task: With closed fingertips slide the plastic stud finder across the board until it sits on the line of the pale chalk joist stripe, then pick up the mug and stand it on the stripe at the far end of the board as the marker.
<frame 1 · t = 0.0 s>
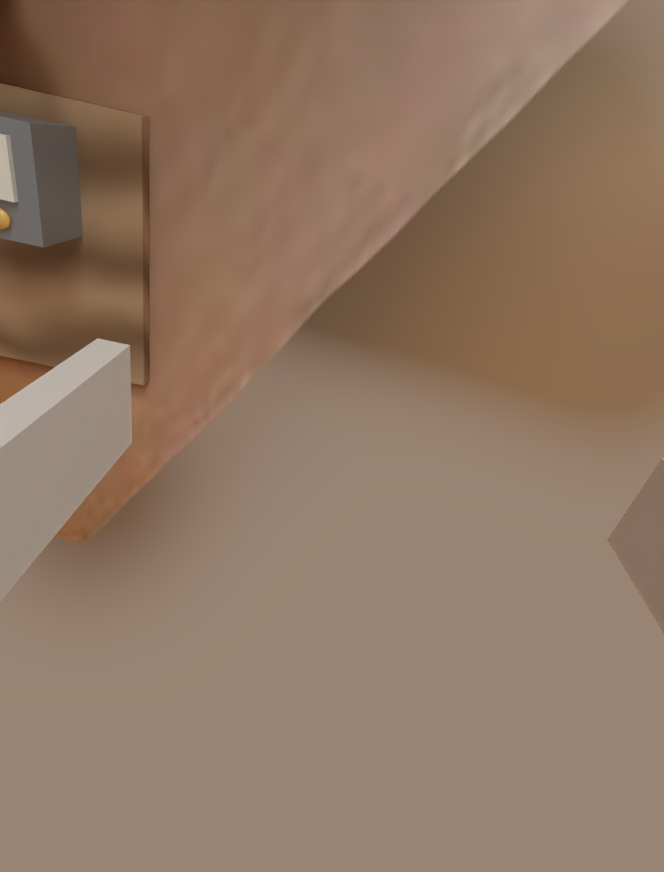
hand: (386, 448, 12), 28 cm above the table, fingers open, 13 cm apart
finder: (44, 176, 34), point 1 cm above the table, touching board
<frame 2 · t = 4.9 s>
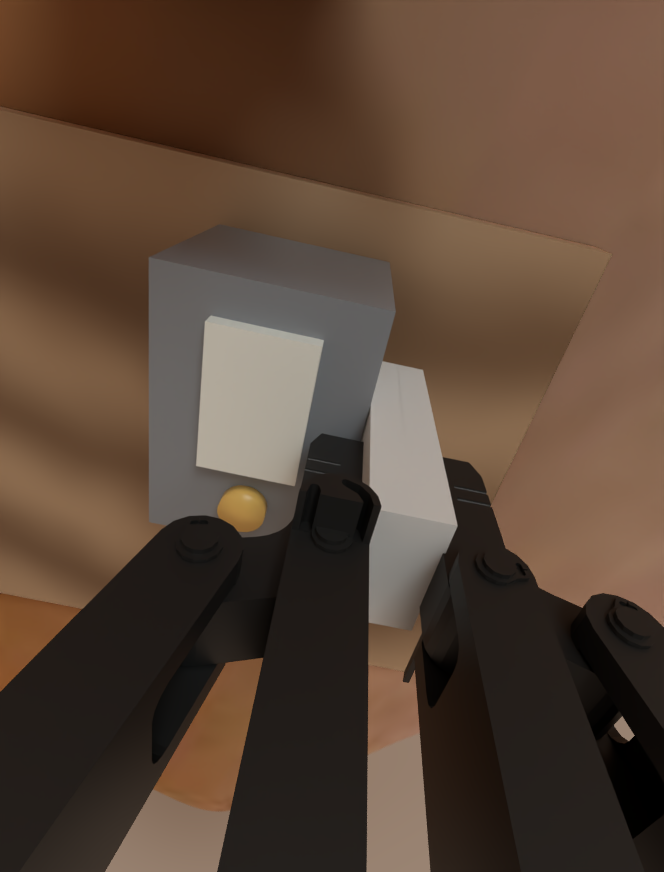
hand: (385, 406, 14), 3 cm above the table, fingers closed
finder: (287, 355, 16), point 1 cm above the table, touching board
board: (134, 429, 19), on the table
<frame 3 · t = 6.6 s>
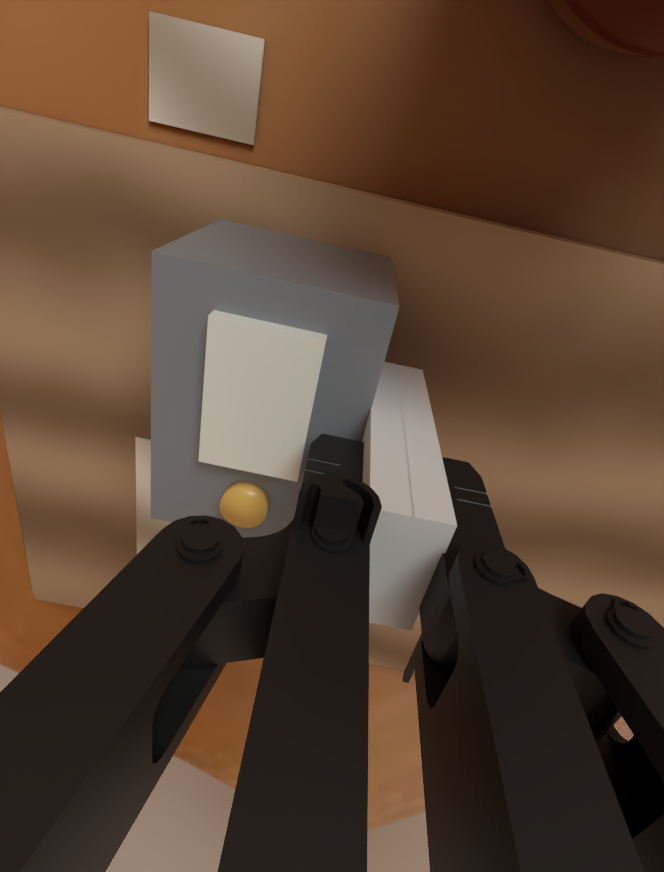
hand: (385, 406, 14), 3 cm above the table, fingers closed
finder: (288, 351, 16), point 1 cm above the table, touching board, gripper
board: (370, 478, 19), on the table
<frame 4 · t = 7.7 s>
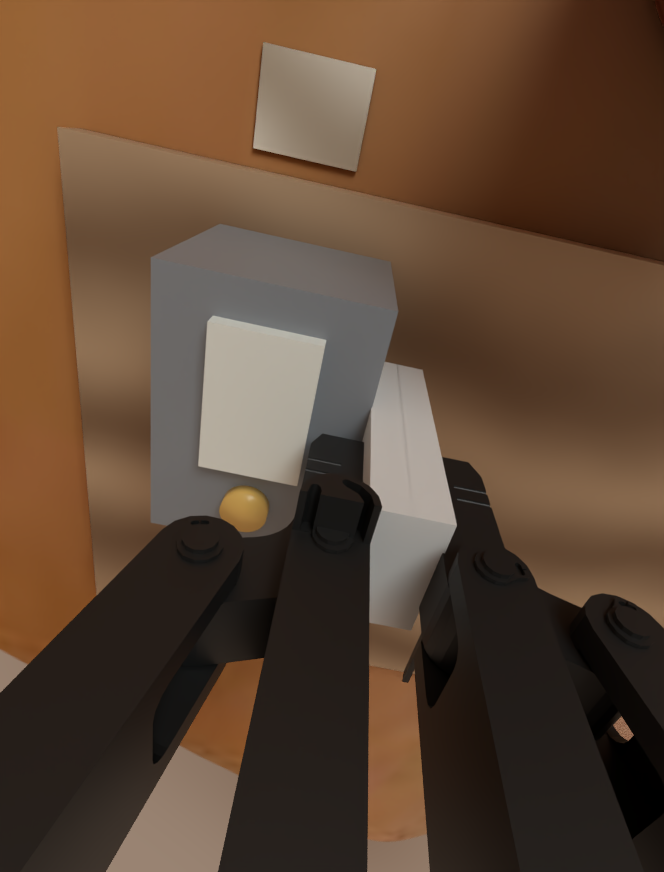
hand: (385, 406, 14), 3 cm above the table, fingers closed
finder: (288, 355, 16), point 1 cm above the table, touching board, gripper
board: (443, 494, 20), on the table
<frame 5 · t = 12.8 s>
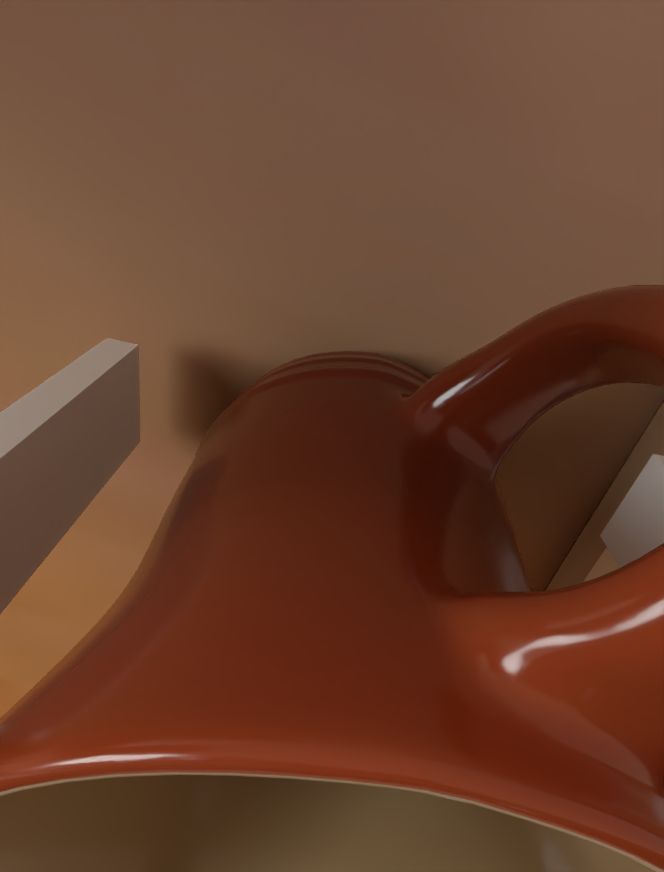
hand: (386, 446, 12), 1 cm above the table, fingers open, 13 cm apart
mug: (379, 413, 13), on the table
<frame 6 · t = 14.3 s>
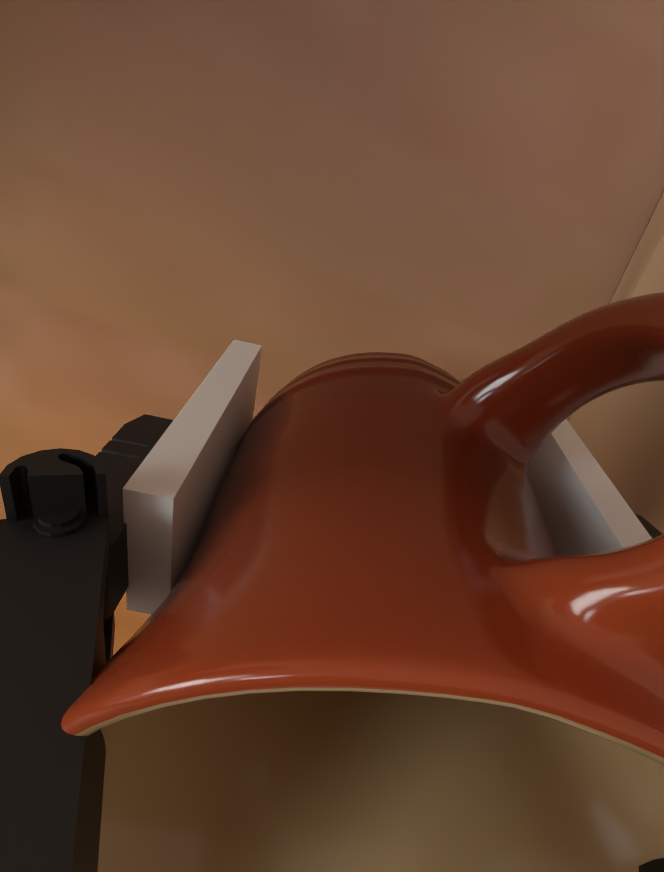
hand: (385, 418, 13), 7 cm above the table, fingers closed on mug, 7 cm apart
mug: (407, 413, 14), point 6 cm above the table, touching gripper
when the fingers open (2 cm above the table, at t = 19.0 s): mug stays where it is, resting on board.
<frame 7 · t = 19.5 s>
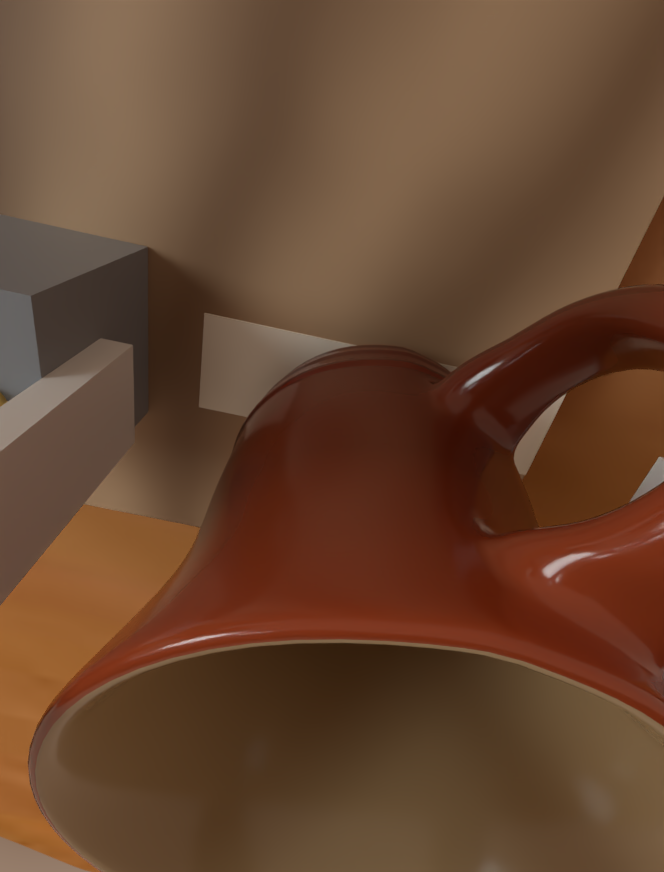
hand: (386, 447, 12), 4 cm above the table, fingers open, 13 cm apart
finder: (27, 310, 14), point 1 cm above the table, touching board
board: (255, 57, 11), on the table
mug: (401, 403, 15), point 1 cm above the table, touching board
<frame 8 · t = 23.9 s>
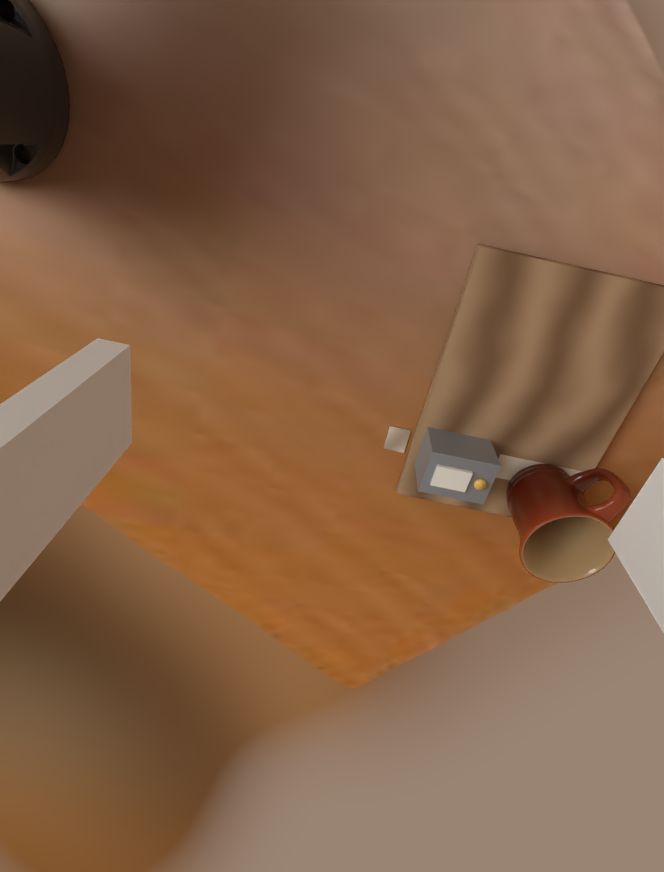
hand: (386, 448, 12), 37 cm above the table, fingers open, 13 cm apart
finder: (451, 452, 53), point 1 cm above the table, touching board
board: (523, 402, 51), on the table
mug: (547, 475, 54), point 1 cm above the table, touching board
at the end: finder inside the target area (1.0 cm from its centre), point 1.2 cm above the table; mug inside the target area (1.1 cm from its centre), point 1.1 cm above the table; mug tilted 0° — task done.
